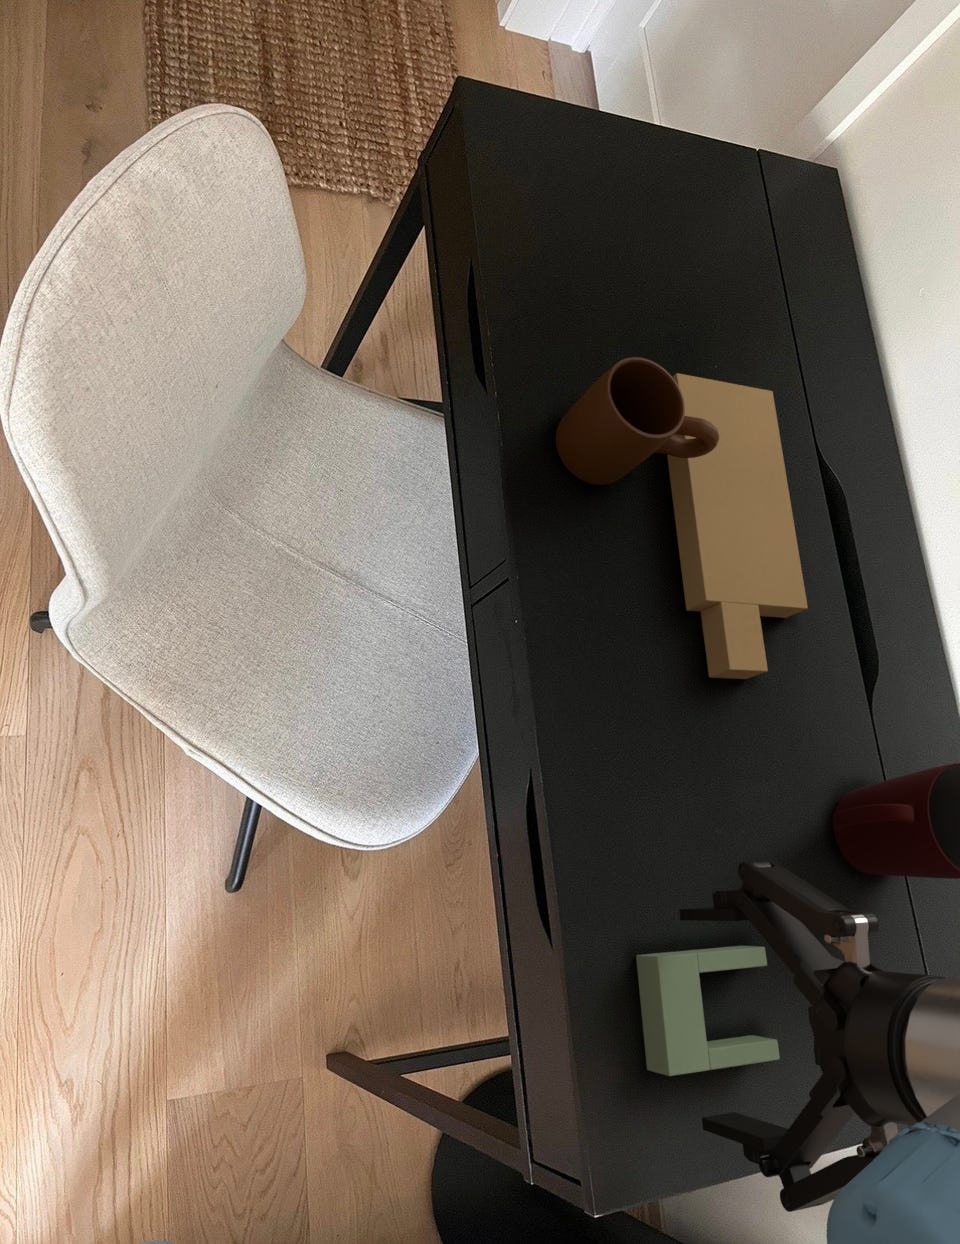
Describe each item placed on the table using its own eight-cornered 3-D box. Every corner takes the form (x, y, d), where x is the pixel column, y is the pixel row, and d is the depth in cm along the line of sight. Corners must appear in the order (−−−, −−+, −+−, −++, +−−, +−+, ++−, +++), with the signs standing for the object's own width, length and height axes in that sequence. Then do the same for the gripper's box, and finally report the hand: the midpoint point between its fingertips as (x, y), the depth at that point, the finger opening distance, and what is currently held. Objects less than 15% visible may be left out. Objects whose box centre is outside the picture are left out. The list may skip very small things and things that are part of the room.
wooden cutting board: (694, 677, 80) (715, 668, 77) (658, 389, 88) (676, 372, 85) (795, 681, 84) (818, 673, 81) (752, 406, 92) (772, 390, 89)
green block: (646, 1070, 68) (669, 1076, 65) (635, 955, 70) (657, 956, 68) (754, 1054, 72) (780, 1059, 69) (740, 945, 74) (765, 946, 71)
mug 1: (672, 445, 86) (735, 395, 78) (663, 516, 83) (728, 472, 75) (559, 398, 83) (612, 340, 74) (546, 470, 80) (599, 419, 72)
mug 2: (799, 875, 78) (901, 870, 68) (793, 771, 81) (891, 751, 71) (908, 886, 82) (1019, 882, 72) (899, 786, 85) (1005, 770, 75)
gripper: (1062, 1328, 44) (774, 1204, 63) (959, 803, 51) (728, 832, 70) (947, 1366, 42) (682, 1225, 61) (854, 806, 49) (642, 835, 67)
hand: (706, 1014), depth 65 cm, fingers open, 13 cm apart
